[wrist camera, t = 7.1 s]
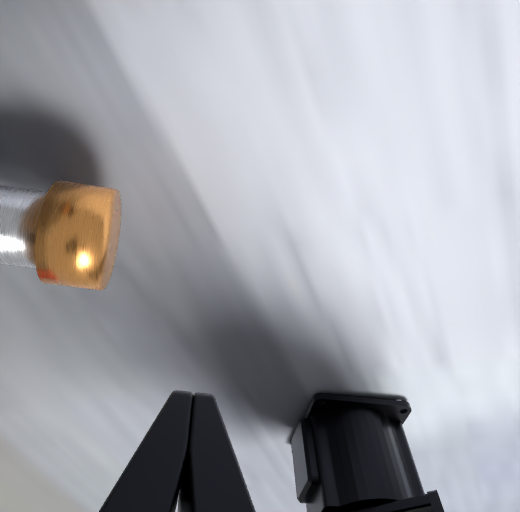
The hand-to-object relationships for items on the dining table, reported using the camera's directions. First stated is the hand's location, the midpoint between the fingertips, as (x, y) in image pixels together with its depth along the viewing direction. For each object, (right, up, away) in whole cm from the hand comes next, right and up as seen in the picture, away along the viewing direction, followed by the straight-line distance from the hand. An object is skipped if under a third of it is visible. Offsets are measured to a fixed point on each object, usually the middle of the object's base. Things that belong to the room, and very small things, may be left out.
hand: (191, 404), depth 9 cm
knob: (-9, +5, +8) cm, 13 cm away
